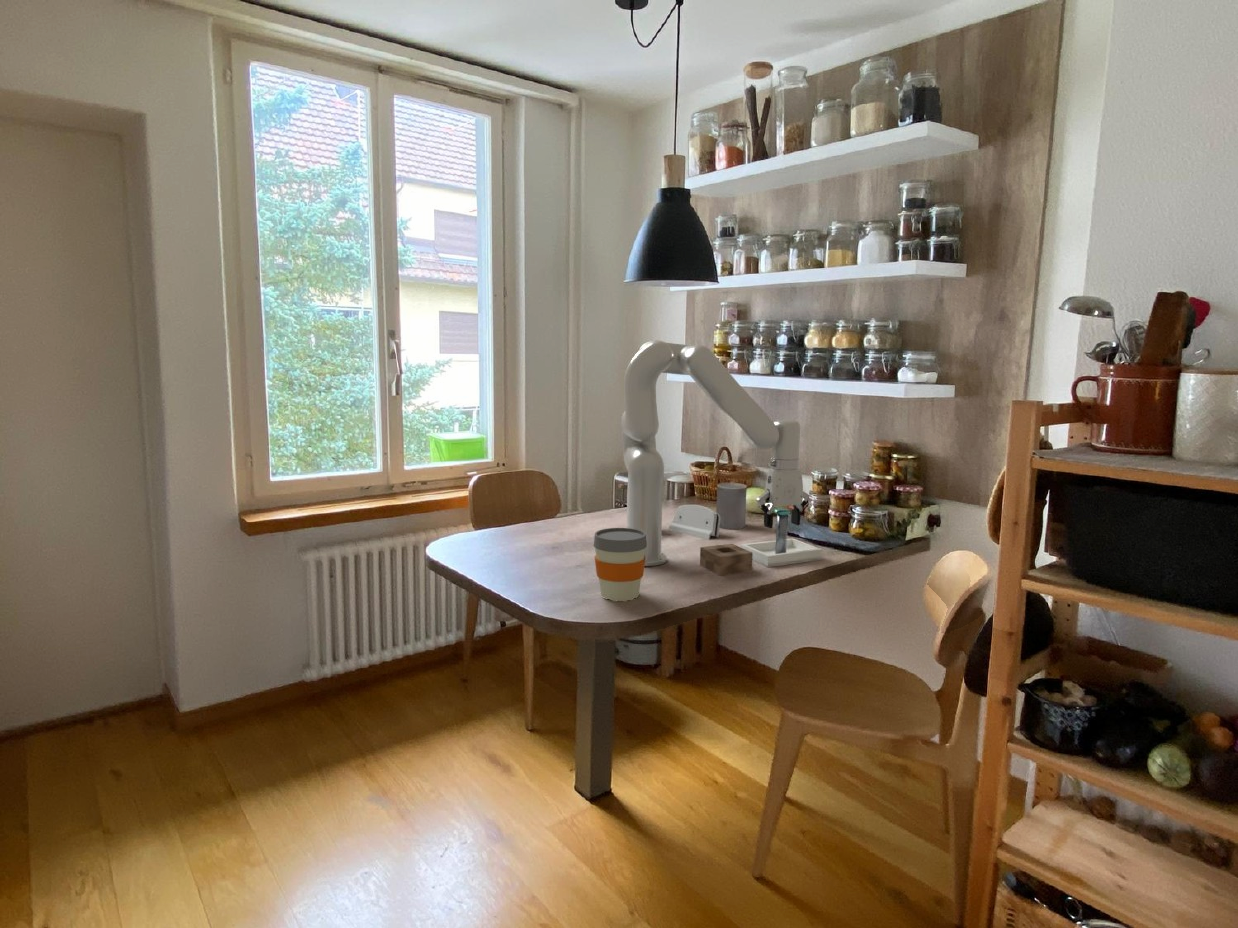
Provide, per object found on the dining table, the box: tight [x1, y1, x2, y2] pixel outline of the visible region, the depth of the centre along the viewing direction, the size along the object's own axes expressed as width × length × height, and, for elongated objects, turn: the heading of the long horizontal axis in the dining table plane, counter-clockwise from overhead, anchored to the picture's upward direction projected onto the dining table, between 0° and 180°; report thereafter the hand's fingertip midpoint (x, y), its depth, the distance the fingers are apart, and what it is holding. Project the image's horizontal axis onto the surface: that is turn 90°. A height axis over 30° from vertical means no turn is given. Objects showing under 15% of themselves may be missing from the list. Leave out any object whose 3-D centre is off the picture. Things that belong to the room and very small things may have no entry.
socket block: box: [699, 543, 753, 576], centre depth 199 cm, size 10×10×5 cm
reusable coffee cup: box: [593, 527, 647, 602], centre depth 176 cm, size 13×13×15 cm
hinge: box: [667, 504, 721, 540], centre depth 237 cm, size 17×5×10 cm, turn 47°
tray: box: [740, 538, 823, 568], centre depth 210 cm, size 18×13×3 cm
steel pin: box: [773, 507, 792, 554], centre depth 209 cm, size 5×5×13 cm
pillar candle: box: [715, 482, 748, 530], centre depth 246 cm, size 10×10×15 cm
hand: (781, 525), depth 209 cm, fingers open, 8 cm apart
